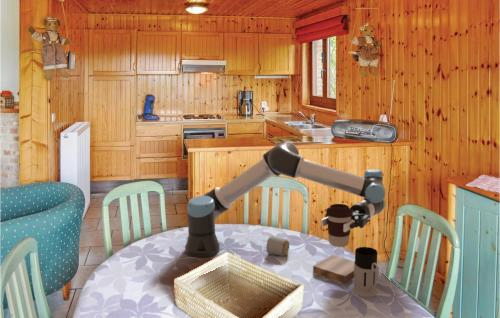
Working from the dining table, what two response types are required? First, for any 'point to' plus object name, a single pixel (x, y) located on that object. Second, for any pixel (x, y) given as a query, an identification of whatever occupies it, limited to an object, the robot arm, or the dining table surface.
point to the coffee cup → (338, 224)
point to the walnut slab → (335, 269)
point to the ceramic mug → (277, 246)
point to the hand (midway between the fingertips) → (333, 225)
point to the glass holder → (365, 272)
